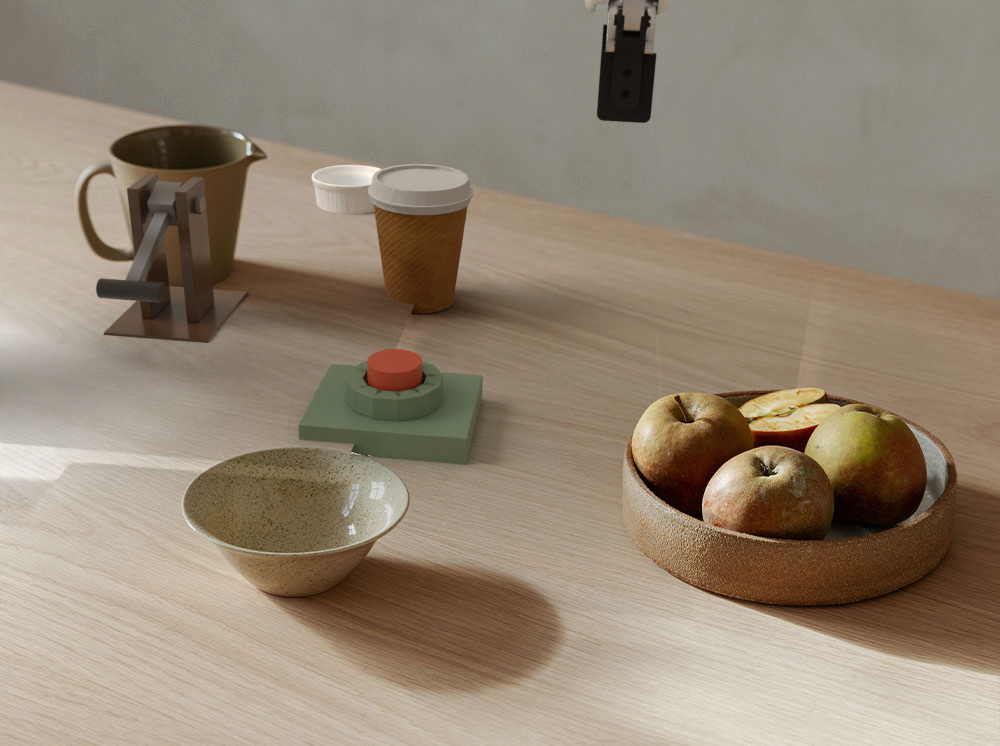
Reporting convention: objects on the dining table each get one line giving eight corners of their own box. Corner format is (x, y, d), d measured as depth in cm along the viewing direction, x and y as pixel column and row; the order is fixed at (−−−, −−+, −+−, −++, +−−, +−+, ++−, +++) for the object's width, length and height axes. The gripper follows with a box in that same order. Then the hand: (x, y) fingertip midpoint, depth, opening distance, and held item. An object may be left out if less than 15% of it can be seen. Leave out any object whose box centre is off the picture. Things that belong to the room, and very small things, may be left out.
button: (362, 391, 79) (361, 370, 79) (373, 367, 83) (373, 346, 82) (417, 396, 79) (417, 374, 78) (426, 371, 83) (426, 350, 82)
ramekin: (299, 217, 125) (297, 180, 123) (333, 195, 132) (332, 160, 130) (372, 227, 122) (371, 189, 121) (402, 205, 130) (402, 169, 128)
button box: (299, 451, 79) (296, 401, 77) (331, 388, 88) (330, 342, 86) (466, 465, 78) (467, 415, 76) (482, 399, 87) (483, 354, 85)
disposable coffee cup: (490, 299, 105) (495, 176, 100) (427, 330, 98) (428, 199, 93) (414, 274, 110) (414, 156, 105) (348, 302, 103) (344, 177, 98)
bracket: (209, 353, 92) (196, 206, 87) (104, 345, 93) (85, 198, 87) (248, 303, 102) (239, 168, 96) (153, 296, 103) (139, 161, 97)
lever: (162, 310, 87) (155, 289, 85) (101, 305, 87) (92, 284, 85) (204, 204, 94) (198, 183, 92) (147, 201, 95) (140, 179, 93)
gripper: (585, -198, 71) (569, 73, 79) (576, -206, 55) (557, 132, 63) (703, -193, 70) (675, 79, 78) (727, -200, 55) (689, 140, 63)
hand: (622, 102), depth 71 cm, fingers open, 9 cm apart
